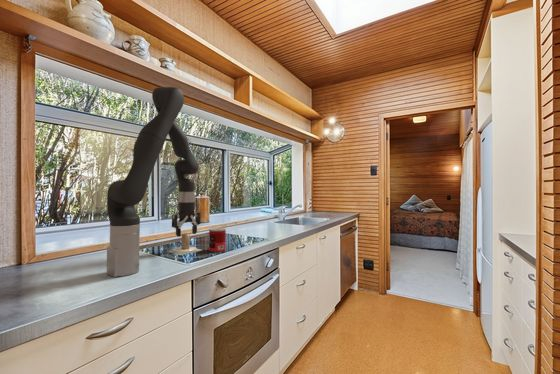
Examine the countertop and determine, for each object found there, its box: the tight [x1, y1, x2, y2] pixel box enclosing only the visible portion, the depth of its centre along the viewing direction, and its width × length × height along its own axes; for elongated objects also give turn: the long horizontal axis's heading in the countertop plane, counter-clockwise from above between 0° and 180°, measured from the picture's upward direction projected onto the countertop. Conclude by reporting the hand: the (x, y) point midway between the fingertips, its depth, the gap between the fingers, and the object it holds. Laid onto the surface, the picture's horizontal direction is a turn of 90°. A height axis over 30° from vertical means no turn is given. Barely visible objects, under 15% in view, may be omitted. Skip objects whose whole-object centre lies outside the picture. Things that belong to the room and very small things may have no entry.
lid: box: [173, 232, 197, 254], centre depth 122 cm, size 10×10×8 cm
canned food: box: [208, 227, 227, 253], centre depth 124 cm, size 8×8×11 cm
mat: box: [168, 248, 202, 256], centre depth 122 cm, size 12×10×1 cm
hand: (186, 235), depth 122 cm, fingers open, 8 cm apart
